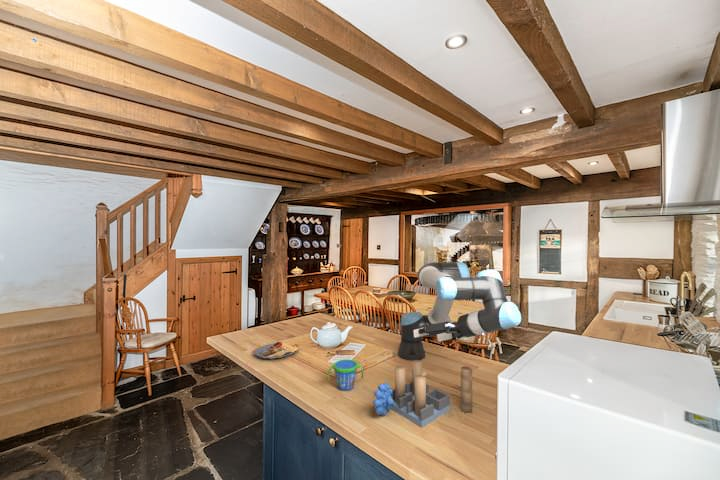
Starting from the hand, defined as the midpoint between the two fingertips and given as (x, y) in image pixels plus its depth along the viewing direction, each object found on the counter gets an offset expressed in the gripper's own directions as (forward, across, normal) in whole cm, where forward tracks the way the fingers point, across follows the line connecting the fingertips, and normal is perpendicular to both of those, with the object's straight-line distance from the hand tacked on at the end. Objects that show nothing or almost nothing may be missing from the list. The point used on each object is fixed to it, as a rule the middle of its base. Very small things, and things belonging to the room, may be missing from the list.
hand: (426, 336), depth 118 cm
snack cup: (+41, -10, -16) cm, 45 cm away
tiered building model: (+22, +16, -16) cm, 32 cm away
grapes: (+17, -9, -27) cm, 33 cm away
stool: (+12, +4, -24) cm, 27 cm away
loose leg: (0, +17, -26) cm, 31 cm away
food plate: (+93, -22, +5) cm, 96 cm away
